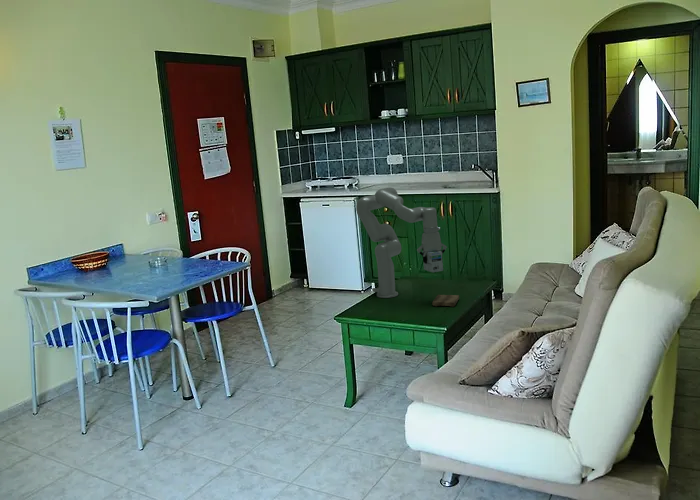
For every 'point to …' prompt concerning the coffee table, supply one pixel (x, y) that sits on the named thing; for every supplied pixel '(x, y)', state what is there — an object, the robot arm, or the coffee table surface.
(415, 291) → the coffee table surface
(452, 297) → the walnut stand
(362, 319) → the coffee table surface
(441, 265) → the light bulb box
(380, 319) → the coffee table surface
